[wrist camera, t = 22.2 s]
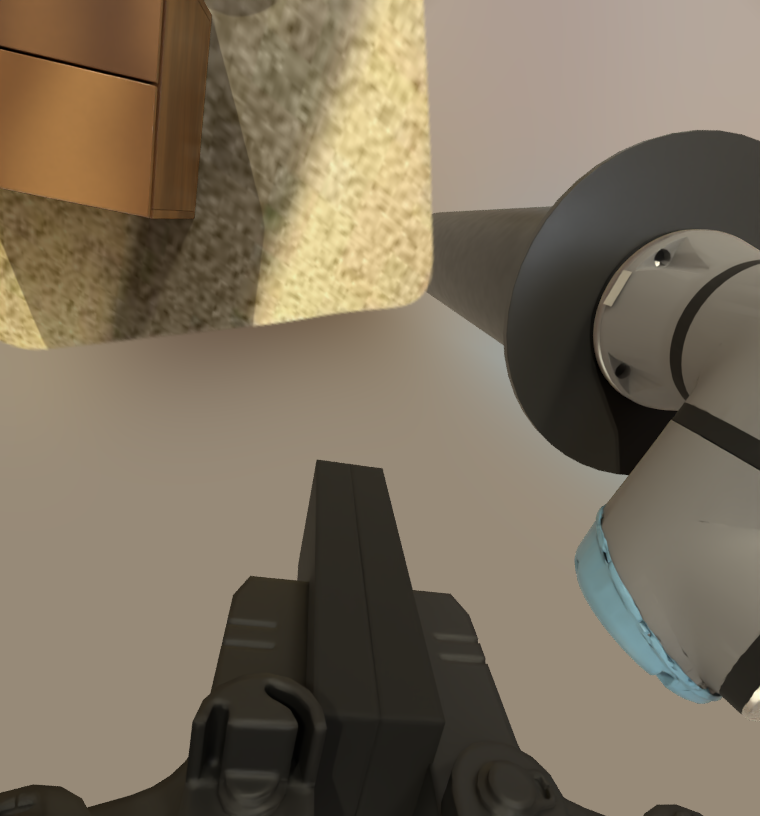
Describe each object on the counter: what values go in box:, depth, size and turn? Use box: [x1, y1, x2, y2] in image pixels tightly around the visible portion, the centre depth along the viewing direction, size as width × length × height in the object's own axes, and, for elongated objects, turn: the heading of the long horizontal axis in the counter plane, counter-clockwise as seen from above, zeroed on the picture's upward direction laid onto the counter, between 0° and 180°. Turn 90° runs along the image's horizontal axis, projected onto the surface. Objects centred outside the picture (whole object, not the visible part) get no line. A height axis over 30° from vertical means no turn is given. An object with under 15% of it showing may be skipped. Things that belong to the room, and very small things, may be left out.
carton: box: [0, 0, 212, 219], centre depth 31 cm, size 15×13×11 cm
